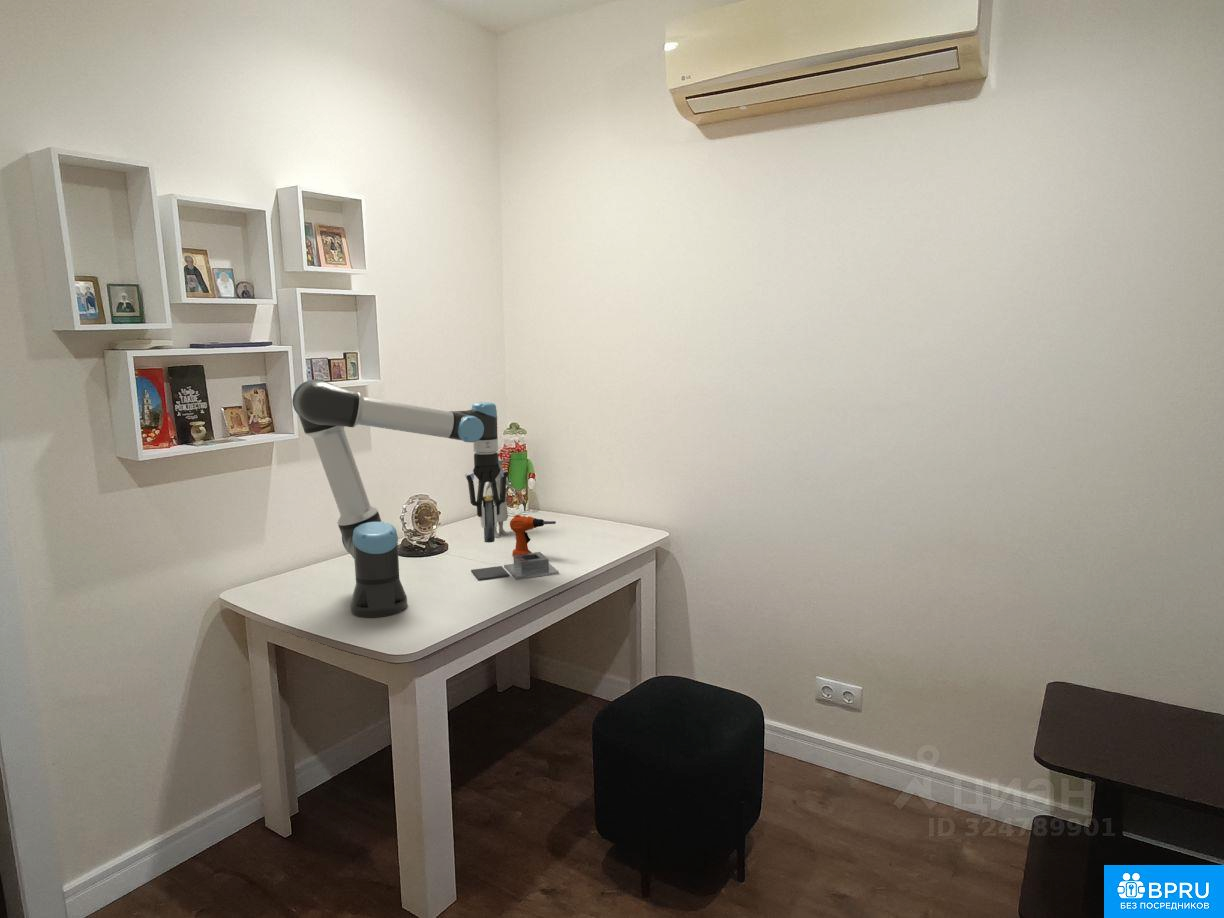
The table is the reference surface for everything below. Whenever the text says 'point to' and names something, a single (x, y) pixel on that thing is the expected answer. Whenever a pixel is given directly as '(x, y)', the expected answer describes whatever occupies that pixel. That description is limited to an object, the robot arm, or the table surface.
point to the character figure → (503, 506)
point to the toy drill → (520, 526)
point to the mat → (490, 573)
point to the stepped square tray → (530, 566)
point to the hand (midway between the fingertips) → (488, 525)
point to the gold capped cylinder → (489, 519)
